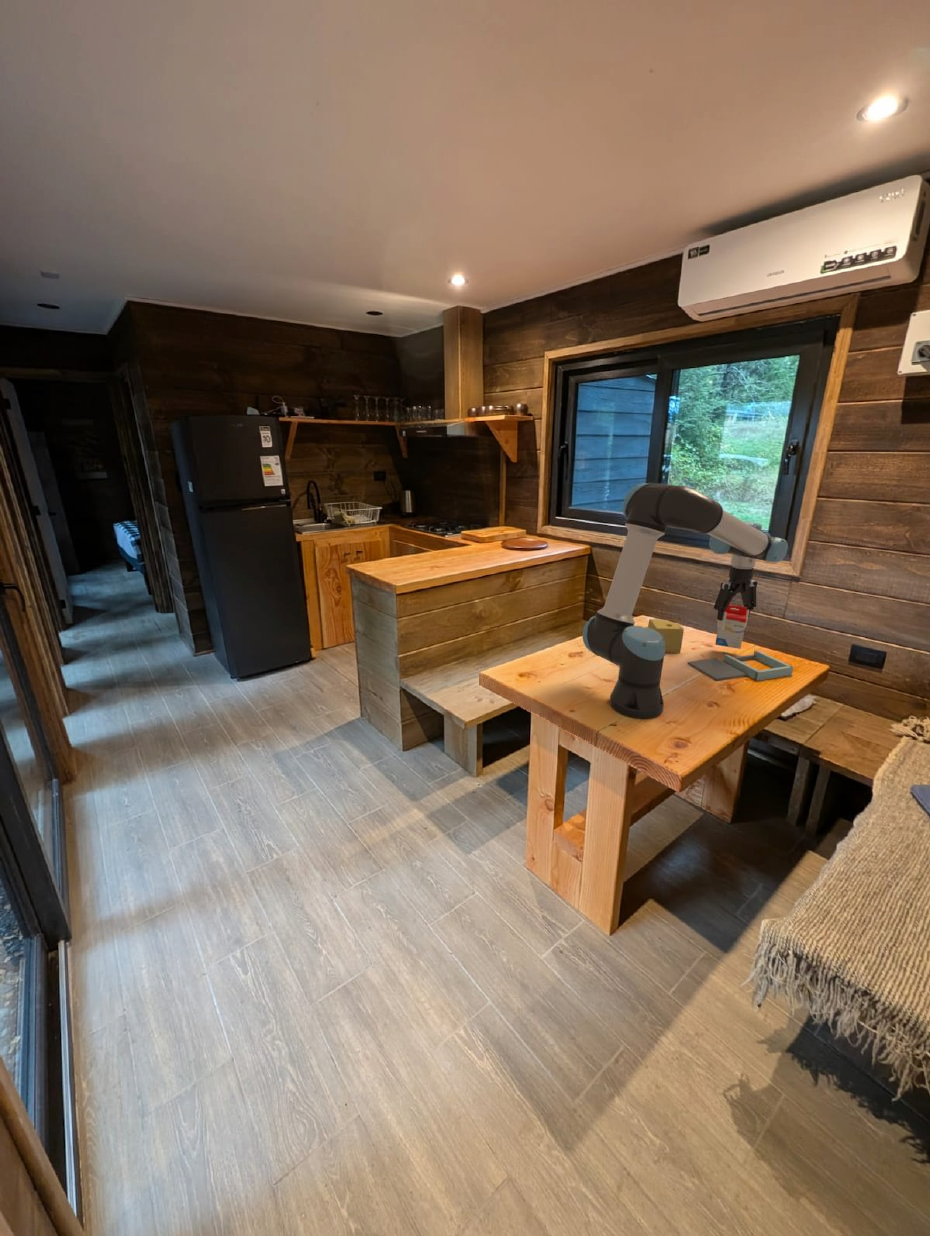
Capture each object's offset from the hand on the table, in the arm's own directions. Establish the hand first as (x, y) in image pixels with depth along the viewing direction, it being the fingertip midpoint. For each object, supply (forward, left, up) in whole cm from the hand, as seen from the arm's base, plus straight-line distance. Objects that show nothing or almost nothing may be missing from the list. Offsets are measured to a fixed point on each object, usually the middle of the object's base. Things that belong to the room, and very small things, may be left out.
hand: (731, 627), depth 182 cm
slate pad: (-14, -11, -10) cm, 20 cm away
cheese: (-19, +11, -11) cm, 25 cm away
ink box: (0, 0, -7) cm, 7 cm away
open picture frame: (0, -14, -10) cm, 17 cm away
